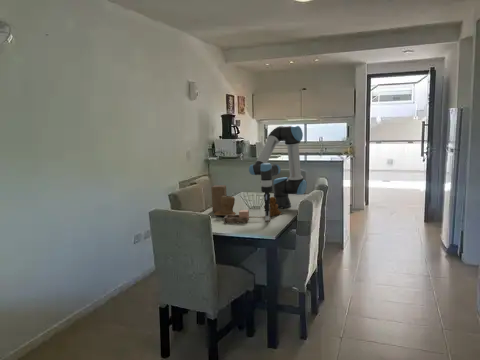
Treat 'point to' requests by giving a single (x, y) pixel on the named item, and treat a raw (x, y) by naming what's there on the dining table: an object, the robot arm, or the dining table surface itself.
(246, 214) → the corded block
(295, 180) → the robot arm
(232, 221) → the walnut lane
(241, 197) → the dining table surface
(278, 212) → the stuffed squirrel
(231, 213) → the brown boot
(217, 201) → the wooden block
